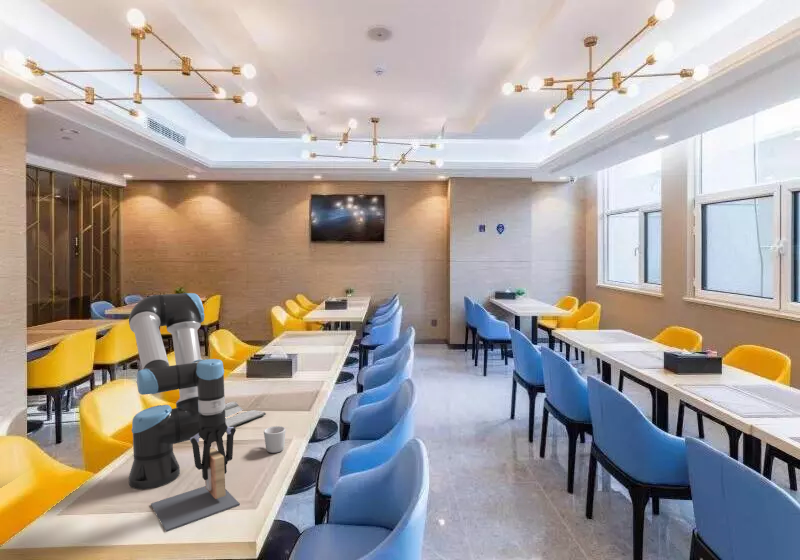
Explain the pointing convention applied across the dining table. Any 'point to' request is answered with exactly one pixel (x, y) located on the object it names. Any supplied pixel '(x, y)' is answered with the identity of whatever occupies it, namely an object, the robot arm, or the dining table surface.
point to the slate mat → (191, 507)
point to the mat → (240, 418)
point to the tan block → (217, 473)
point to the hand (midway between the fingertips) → (215, 486)
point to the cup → (274, 439)
